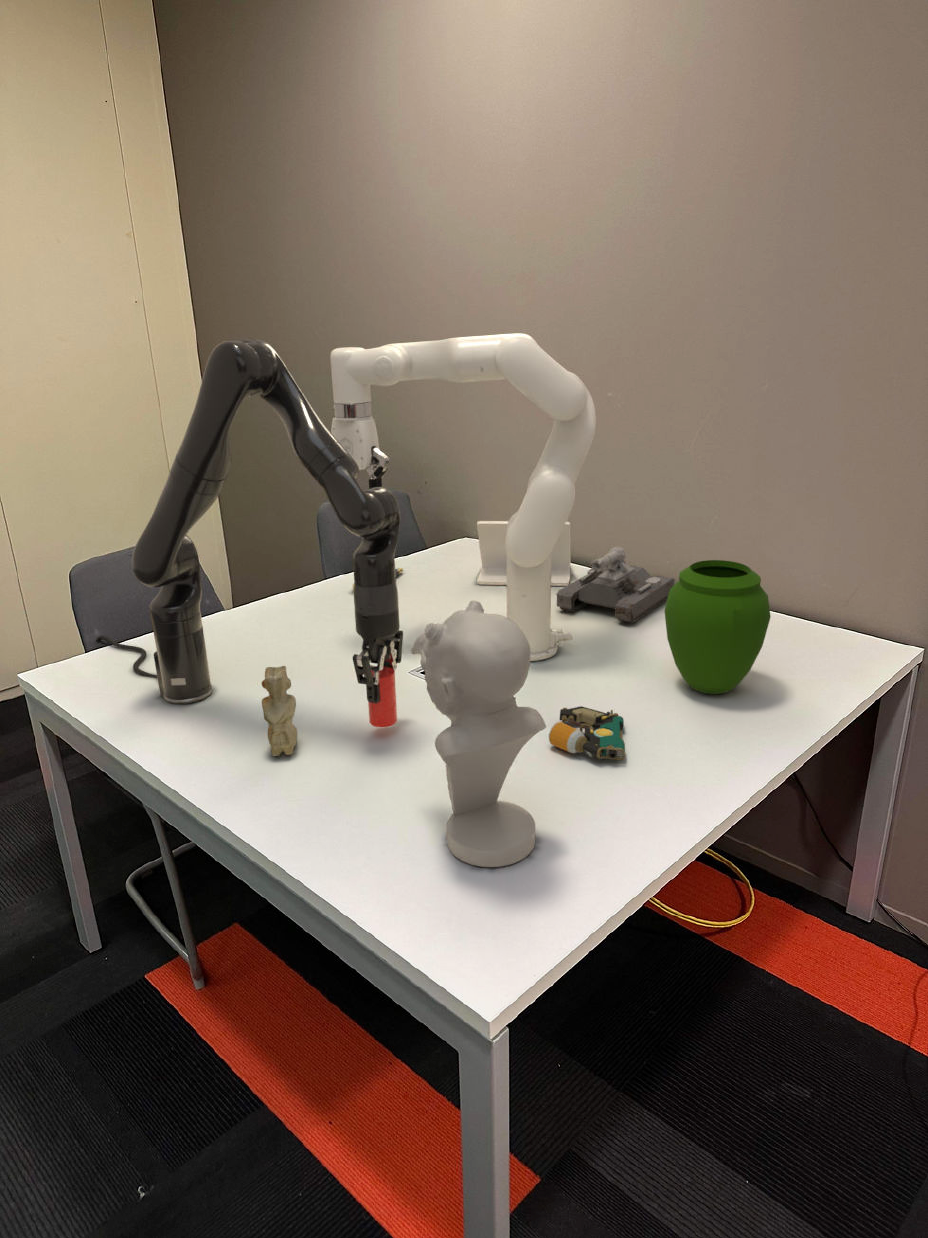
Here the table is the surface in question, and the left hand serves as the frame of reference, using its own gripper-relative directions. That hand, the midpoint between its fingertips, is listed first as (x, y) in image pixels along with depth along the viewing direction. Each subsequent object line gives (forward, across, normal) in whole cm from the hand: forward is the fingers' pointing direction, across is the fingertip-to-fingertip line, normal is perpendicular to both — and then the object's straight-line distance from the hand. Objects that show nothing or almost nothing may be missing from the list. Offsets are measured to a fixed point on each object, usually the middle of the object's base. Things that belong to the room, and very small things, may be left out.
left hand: (381, 695), depth 152 cm
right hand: (-28, -33, -22) cm, 48 cm away
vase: (+7, -40, +51) cm, 66 cm away
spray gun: (+7, -11, +36) cm, 38 cm away
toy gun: (+8, -76, -44) cm, 89 cm away
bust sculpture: (+7, +22, +27) cm, 36 cm away
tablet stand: (+8, -96, -8) cm, 96 cm away
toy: (+7, -80, +22) cm, 84 cm away
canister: (+5, 0, 0) cm, 5 cm away
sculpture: (+8, +12, -13) cm, 20 cm away
